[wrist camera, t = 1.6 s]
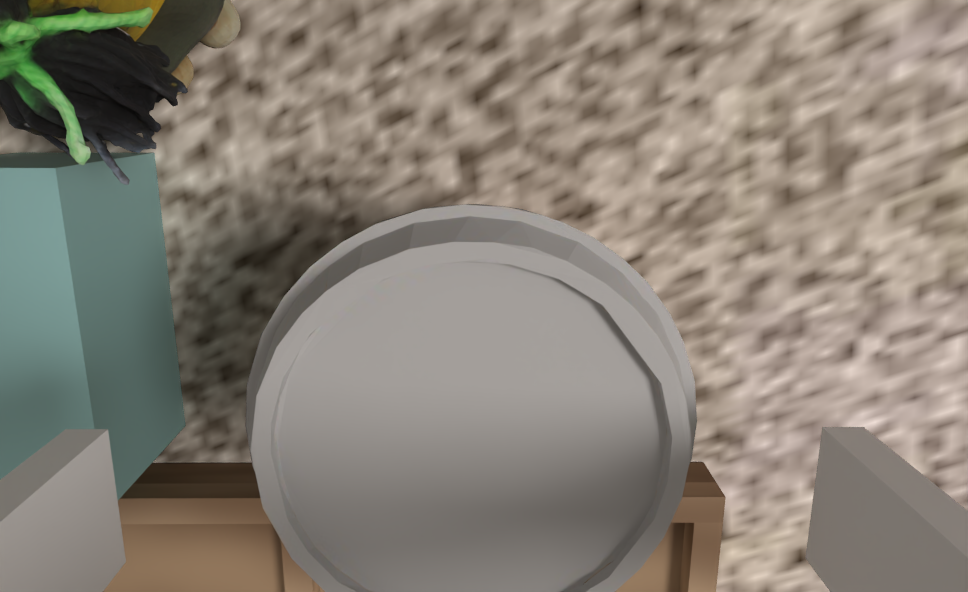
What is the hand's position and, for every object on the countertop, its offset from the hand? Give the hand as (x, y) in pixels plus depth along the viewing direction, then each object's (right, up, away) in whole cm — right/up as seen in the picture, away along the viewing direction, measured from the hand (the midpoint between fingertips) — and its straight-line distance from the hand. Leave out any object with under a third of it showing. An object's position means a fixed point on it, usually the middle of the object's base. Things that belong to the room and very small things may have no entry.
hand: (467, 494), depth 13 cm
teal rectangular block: (-13, +4, +12) cm, 18 cm away
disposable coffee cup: (0, +4, +13) cm, 13 cm away
